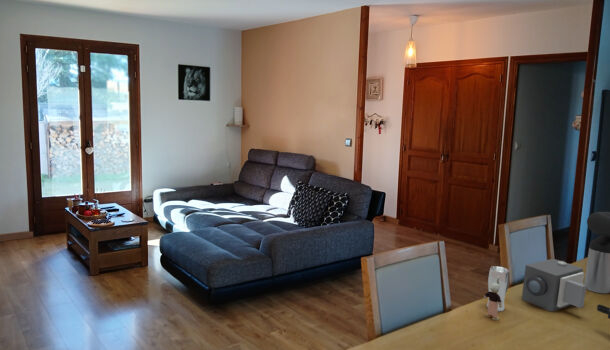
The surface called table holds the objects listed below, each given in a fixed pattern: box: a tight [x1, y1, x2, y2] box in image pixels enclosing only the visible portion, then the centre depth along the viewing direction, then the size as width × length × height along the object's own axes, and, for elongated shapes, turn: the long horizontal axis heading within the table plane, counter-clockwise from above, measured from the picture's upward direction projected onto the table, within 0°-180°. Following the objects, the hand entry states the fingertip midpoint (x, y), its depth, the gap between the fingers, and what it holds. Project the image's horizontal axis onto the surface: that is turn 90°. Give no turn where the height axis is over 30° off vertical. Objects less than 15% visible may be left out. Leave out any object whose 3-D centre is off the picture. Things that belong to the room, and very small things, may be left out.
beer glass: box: [486, 265, 510, 312], centre depth 167 cm, size 7×7×15 cm
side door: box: [557, 271, 587, 309], centre depth 167 cm, size 14×7×11 cm, turn 121°
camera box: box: [521, 258, 584, 313], centre depth 174 cm, size 21×12×15 cm, turn 121°
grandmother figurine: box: [483, 283, 502, 321], centre depth 160 cm, size 8×4×13 cm, turn 37°
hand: (604, 304), depth 155 cm, fingers open, 8 cm apart
